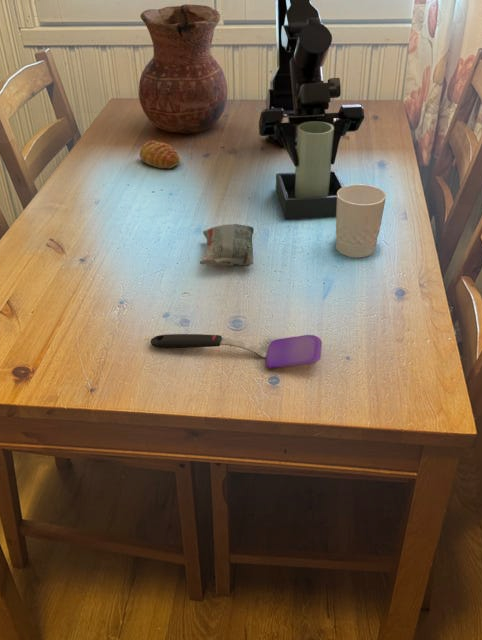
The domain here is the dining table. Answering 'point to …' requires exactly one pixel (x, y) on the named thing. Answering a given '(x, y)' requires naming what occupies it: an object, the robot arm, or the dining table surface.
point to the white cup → (358, 219)
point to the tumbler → (313, 159)
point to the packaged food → (229, 246)
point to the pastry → (159, 155)
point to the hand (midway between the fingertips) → (314, 164)
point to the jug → (182, 70)
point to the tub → (306, 198)
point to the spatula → (252, 347)
